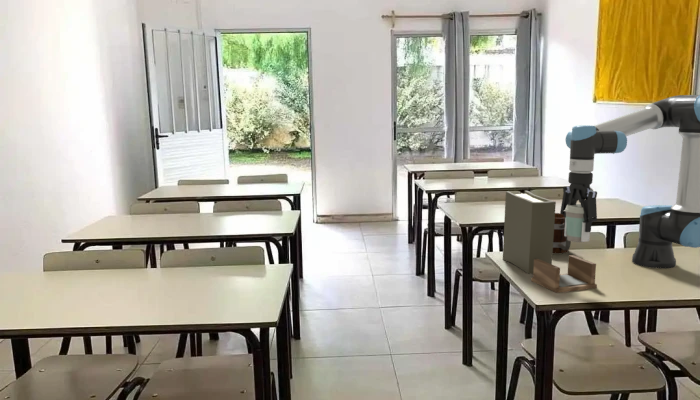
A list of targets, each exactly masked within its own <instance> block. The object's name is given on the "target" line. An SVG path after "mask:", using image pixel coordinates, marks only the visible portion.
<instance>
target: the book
mask: <svg viewBox="0 0 700 400" xmlns="http://www.w3.org/2000/svg"><path fill="white" fill-rule="evenodd" d="M523 191H524V193H517V194H515V193H513V192H511V191H509V190H508V191H505V200H504V202H505V203H504V222H503V225H504V226H503V244H502V260H503V261H505V262H508V263H510V264H512V265H514V266H516V267H518V268H520V270H521V271H524V272H525V273H526V274H529V275H533V270H534V259H539V260H542V261H544V262H547V263H549V264H552V263H553V253H552V252H553V237H554V222H555V213H556V206H557V202H556V200H555V201H554V200H552V199H549V198H545V197H542V196H539V195H537V194H534V193H533V192H531V191H529V190H523ZM552 265H553V264H552Z"/></svg>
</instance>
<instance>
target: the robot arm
mask: <svg viewBox="0 0 700 400" xmlns="http://www.w3.org/2000/svg"><path fill="white" fill-rule="evenodd" d="M662 128H678V134H679V135H680V136H681V137H682V141H681V142H682V144H681V153H680V160H679V172H678V182H677V192H676V199H675V204H672V205H668V204H667V205H666V204H665V205H664V204H661V205H660V204H659V205H658V204H656V205H655V204H654V205H645V206H642V208H641V209H640V215H639V225H638V226H639V227H638V231H639V232H638V242H637V245H636V247H635V251H634V252H633V254H632V258H631V262H632V263H633V264H635V265H637V266H639V267H645V268H650V269H661V270H662V269H666V270H667V269H673V268H675V267H676V265H677V259H676V258H675V253H674V248H673V244H677V245H681V246H683V247H685V248H686V247H688V248H693V249H695V248H696V249H697V248H700V94H685V95H684V94H680V95H674V96H670V97H666V98H664V99H661V100H658V101H655V102H653V103H649V104H646V105H645V106H644V108H642V109H640V110H637V111H633V112H630V113H628V114H625V115H622V116H619V117H616V118H613V119H609V120H607V121H603V122H601V123H598V124H594V125H582V124H581V125H578V124H577V125H573V126H572V129H571V130H569V131H568V132H567V133H566V136H565V145H566V146H567V148H569V150H570V151H569V166H568V167H569V168H568V169H569V171H570V172H568V178H567V179H568V180H567V181H568V184H570V185H569V186H563V188H562V193H563V194H562V200H561V206H560V212H559V213H560V214H563V215H564V217H565V220H564V221H565V222H564V226H565V233H564V236H567V225H566V211H565V208H566V206H567V205H568V204H570V205H576V204H578V202H579V204H581V207H583V210H584V214H583V217H584V221H583V222H582V235H581V241H582V242H581V243H584V241H585V242H590V234H591V232H592V223H593V222H597V221H598V214H597V211H598V210H597V196H598V191H596V190H594V191H593V190H591V184H592V183H593V178H594V175H593V173H592V172H593V171H594V164H595V163H594V162H595V155H596V154H613V155H614V154H619V153H623V152H624V151H625V149H627V147H628V138H627V137H629V136H631V135H635V134H637V133H641V132H644V131H646V130H658V129H662Z"/></svg>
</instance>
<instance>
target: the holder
mask: <svg viewBox="0 0 700 400" xmlns="http://www.w3.org/2000/svg"><path fill="white" fill-rule="evenodd" d="M567 261H568V262H567V263H568V264H567V273H560V272H561V267H559V266H556V265H554V264H549V263H547V262H544V261H542V260H539V259H534V270H533V274H532V277H531V278H530V279H531V280H530V281H531V282H533V283H534V284H537V285H539V286H541V287H543V288H546V289H548V290H550V291H551V292H554V293H556V294H560V293H567V292H574V291H583V290H589V289H597V287H598V284H597V283H596V272H597V269H596V268H597V263H595V262H592V261H589V260H586V259H584V258H581V257H578V256H576V255H573V254H572V255H568V259H567Z"/></svg>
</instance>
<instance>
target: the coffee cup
mask: <svg viewBox="0 0 700 400" xmlns="http://www.w3.org/2000/svg"><path fill="white" fill-rule="evenodd" d="M564 211H566V225H567V240H568V241H571V243H572V242H573V243H584V242H586V241H584V242H582V241H581V235H582V222H583V221H584V217H583V214H584V210H583V207H581V203H576V205H570V204H568V205H567V206H566V208H565V210H564Z"/></svg>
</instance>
